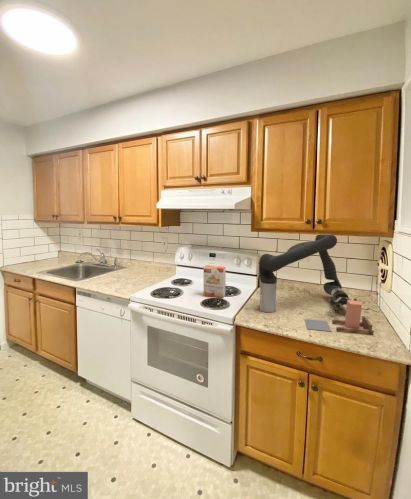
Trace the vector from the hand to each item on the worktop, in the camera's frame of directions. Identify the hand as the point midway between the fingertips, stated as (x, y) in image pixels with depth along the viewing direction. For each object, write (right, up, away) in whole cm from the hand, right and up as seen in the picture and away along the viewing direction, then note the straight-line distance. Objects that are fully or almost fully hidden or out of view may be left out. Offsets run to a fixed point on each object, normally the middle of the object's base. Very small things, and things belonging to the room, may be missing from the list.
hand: (348, 307), depth 134 cm
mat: (-17, -9, -3) cm, 20 cm away
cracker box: (-69, -2, +40) cm, 80 cm away
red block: (-2, -9, -6) cm, 11 cm away
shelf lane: (-2, -9, -6) cm, 11 cm away
